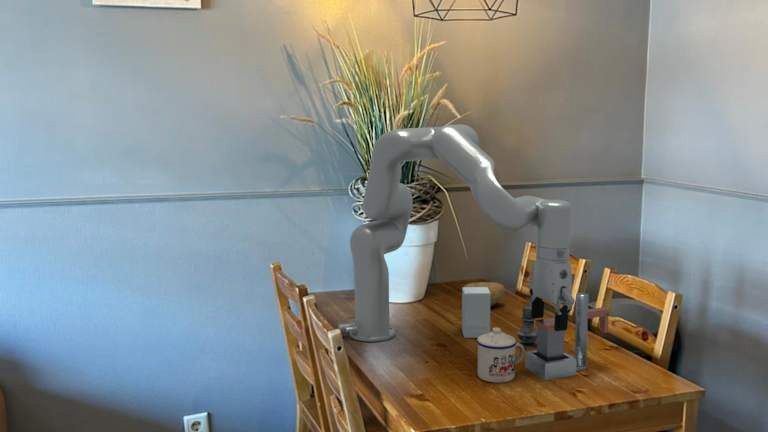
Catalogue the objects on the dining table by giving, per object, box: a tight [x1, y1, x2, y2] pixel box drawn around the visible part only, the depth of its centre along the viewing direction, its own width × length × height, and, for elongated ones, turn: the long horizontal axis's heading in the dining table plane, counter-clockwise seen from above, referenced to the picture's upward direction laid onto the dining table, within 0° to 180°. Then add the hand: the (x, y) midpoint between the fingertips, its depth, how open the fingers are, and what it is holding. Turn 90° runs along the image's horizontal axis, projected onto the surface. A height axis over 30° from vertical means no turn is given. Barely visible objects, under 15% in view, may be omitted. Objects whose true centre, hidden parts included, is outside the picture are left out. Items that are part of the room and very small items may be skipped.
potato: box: [463, 281, 506, 307], centre depth 224 cm, size 10×14×8 cm
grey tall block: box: [534, 317, 565, 362], centre depth 168 cm, size 5×5×12 cm
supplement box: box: [461, 286, 491, 339], centre depth 197 cm, size 7×7×13 cm
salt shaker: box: [516, 301, 537, 350], centre depth 187 cm, size 6×6×12 cm
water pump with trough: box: [524, 292, 610, 381], centre depth 170 cm, size 20×8×18 cm, turn 111°
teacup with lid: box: [476, 327, 525, 384], centre depth 166 cm, size 12×9×12 cm
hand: (548, 323), depth 168 cm, fingers open, 9 cm apart
